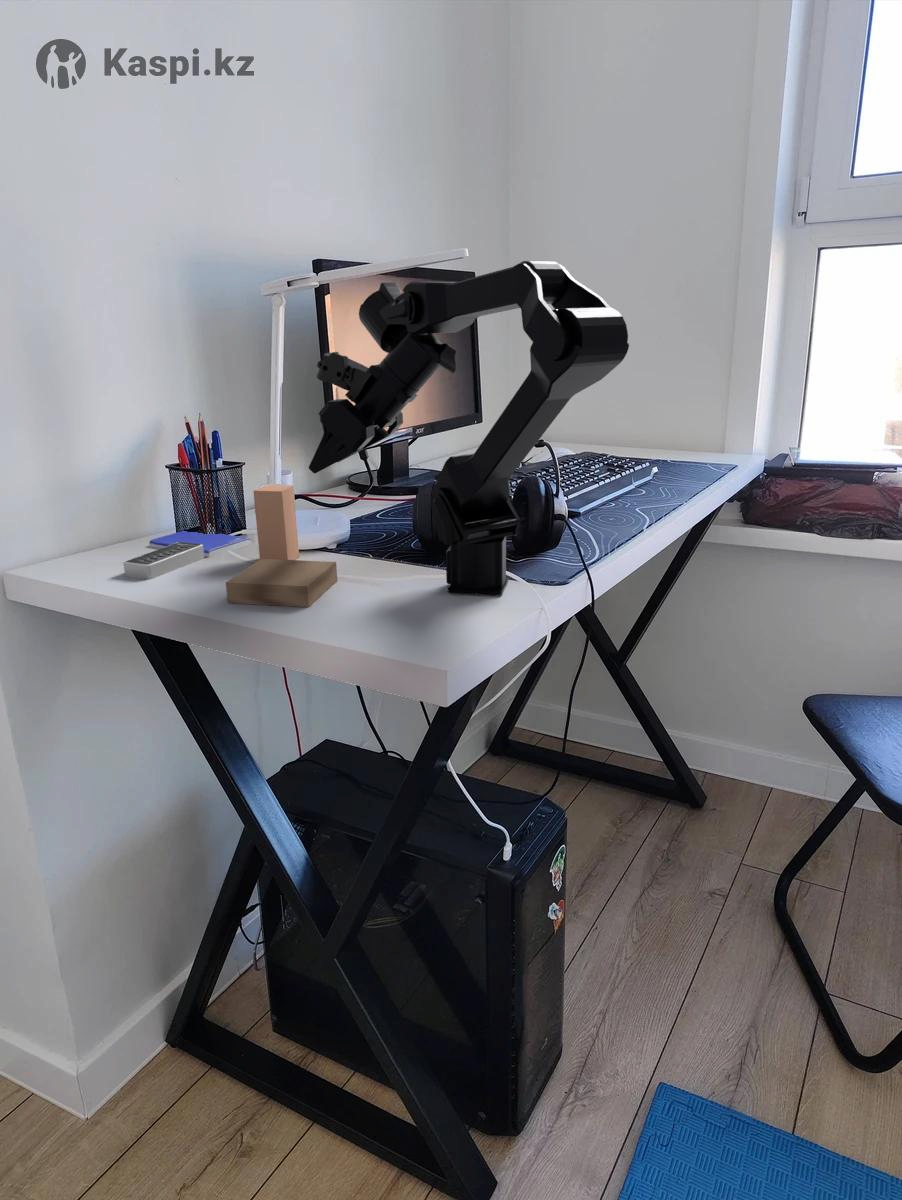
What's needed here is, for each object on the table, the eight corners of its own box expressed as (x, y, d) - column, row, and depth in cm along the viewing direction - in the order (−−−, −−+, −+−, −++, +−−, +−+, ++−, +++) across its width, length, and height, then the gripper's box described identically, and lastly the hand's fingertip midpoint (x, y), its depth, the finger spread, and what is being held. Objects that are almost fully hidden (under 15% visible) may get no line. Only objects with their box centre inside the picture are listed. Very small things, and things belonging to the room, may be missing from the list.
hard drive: (250, 537, 125) (191, 527, 131) (208, 550, 119) (148, 539, 125) (251, 547, 126) (193, 537, 132) (209, 561, 119) (150, 550, 125)
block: (299, 556, 118) (293, 485, 115) (288, 565, 114) (281, 491, 111) (272, 555, 119) (265, 484, 116) (260, 563, 115) (253, 490, 112)
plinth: (337, 581, 107) (336, 561, 106) (308, 607, 98) (307, 586, 97) (262, 577, 109) (261, 558, 108) (227, 602, 100) (225, 582, 99)
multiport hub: (124, 578, 111) (121, 561, 110) (181, 557, 121) (179, 541, 120) (150, 582, 109) (147, 565, 109) (206, 560, 119) (204, 544, 118)
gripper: (374, 327, 113) (303, 414, 119) (329, 328, 96) (248, 429, 101) (435, 387, 114) (361, 470, 120) (401, 398, 97) (317, 495, 102)
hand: (323, 465), depth 111 cm, fingers open, 9 cm apart
